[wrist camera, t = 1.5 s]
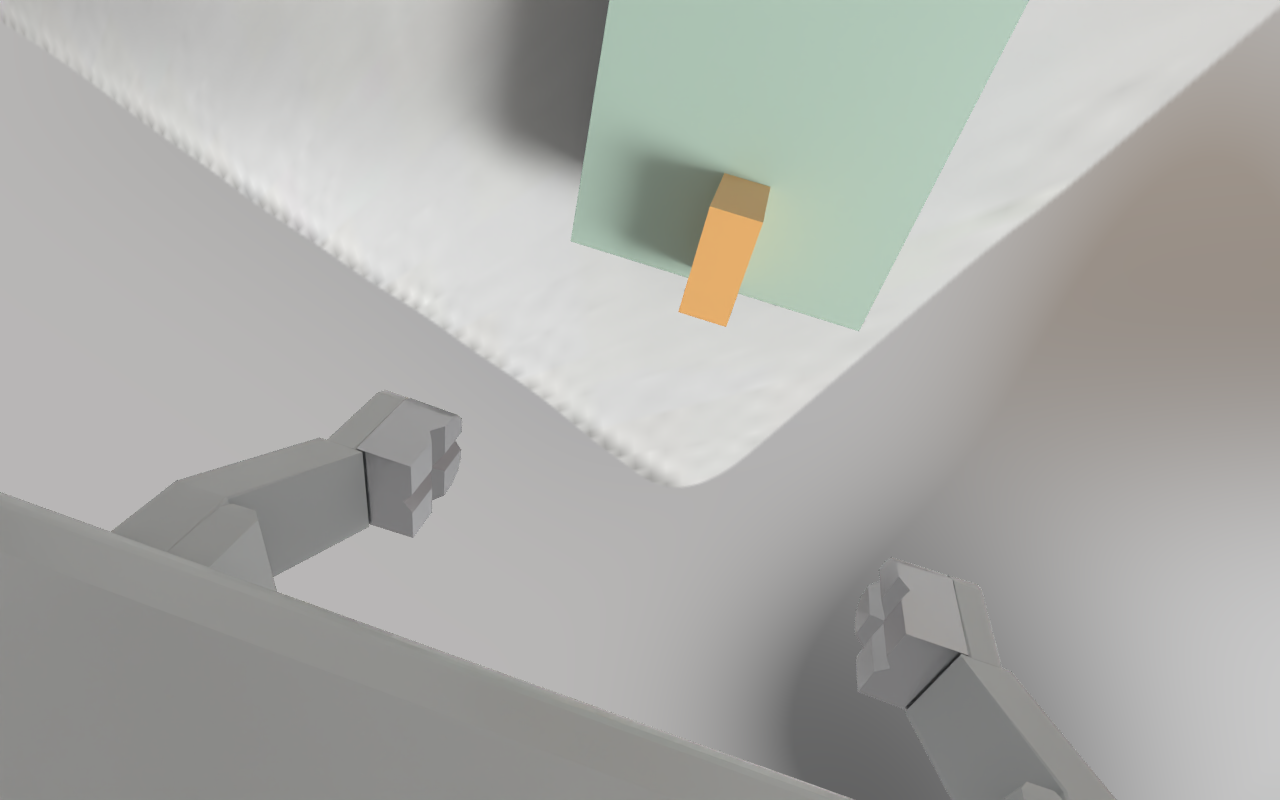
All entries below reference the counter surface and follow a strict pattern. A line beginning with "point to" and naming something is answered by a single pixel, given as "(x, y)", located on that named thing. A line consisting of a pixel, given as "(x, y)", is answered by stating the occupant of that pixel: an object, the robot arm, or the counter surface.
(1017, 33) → the counter surface
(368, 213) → the counter surface
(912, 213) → the lid
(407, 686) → the robot arm
